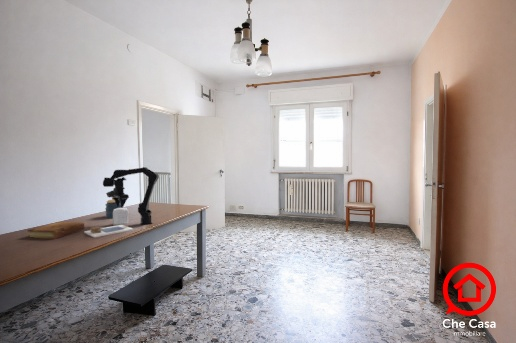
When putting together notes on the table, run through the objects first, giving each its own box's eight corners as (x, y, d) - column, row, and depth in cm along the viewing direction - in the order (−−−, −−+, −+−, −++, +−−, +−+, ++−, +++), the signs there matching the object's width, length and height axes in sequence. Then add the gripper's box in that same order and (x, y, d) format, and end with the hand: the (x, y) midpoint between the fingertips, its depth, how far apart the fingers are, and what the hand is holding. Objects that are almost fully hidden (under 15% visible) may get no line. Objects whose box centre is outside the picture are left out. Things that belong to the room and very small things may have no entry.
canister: (126, 216, 228) (126, 196, 227) (115, 219, 215) (114, 198, 215) (113, 216, 231) (113, 196, 230) (101, 219, 218) (101, 197, 217)
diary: (55, 240, 161) (55, 230, 161) (27, 239, 163) (27, 230, 163) (84, 230, 184) (84, 222, 184) (59, 230, 186) (59, 221, 186)
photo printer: (127, 222, 204) (127, 206, 204) (128, 223, 201) (128, 207, 200) (112, 224, 199) (112, 208, 198) (113, 225, 195) (112, 209, 195)
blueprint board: (121, 226, 194) (121, 220, 193) (133, 229, 182) (132, 224, 182) (84, 232, 175) (84, 226, 175) (93, 237, 164) (93, 231, 164)
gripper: (102, 186, 197) (103, 207, 198) (112, 188, 185) (113, 210, 186) (118, 185, 206) (119, 205, 206) (128, 186, 194) (129, 208, 194)
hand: (119, 207), depth 198 cm, fingers open, 8 cm apart
